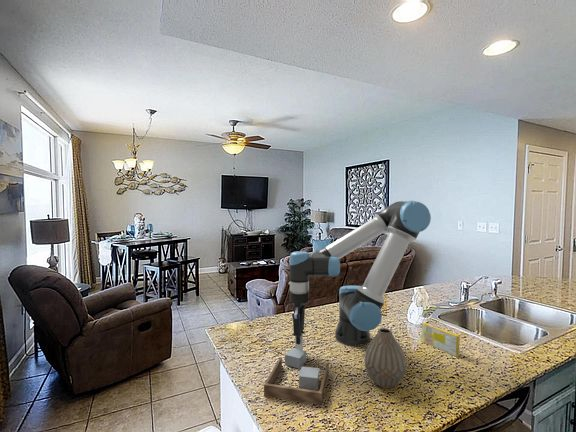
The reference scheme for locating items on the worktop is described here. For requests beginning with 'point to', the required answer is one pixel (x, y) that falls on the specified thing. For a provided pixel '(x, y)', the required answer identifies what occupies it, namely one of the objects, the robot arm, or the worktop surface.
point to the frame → (292, 392)
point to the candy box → (440, 339)
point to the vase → (385, 359)
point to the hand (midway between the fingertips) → (298, 350)
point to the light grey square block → (309, 378)
